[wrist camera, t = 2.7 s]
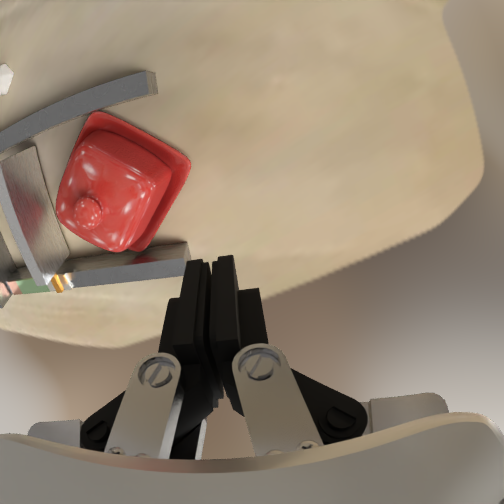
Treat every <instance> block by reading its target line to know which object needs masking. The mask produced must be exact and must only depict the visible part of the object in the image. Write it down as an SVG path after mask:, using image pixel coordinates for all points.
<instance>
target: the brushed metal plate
mask: <svg viewBox="0 0 504 504" xmlns="http://www.w3.org/2000/svg"><path fill="white" fill-rule="evenodd" d="M0 202H1V205H2V208H3V211H4V214H5V216H6V219H7V222H8V224H9V227H10V229H11V232H12V234H13V237H14V239H15V241H16V244H17V246H18V248H19V251H20V253H21V255H22V257H23V259H24V261H25V263H26V266H27V268H28V270H29V272H30V274H31V276H32V278H33V280H34V281H35V283H36V285H37V286H43V285H47V284H48V283H49V282H50V280H51V282H52V284H53V286H54V288H55V290H56V292H57V293H62V292H63V290H64V288H63V286H62V284H61V282H60V280H59V278H58V276H57V274H56V272H57V270H58V269H59V267H60V266H61V265H62V263H63V262H64V261H65V259H66V258H67V257H68V255H69V254H70V252H69V249H68V247H67V245H66V242H65V240H64V237H63V235H62V232H61V229H60V227H59V224H58V221H57V219H56V216H55V213H54V210H53V207H52V204H51V201H50V198H49V195H48V192H47V189H46V185H45V182H44V179H43V175H42V172H41V168H40V164H39V160H38V156H37V152H36V148H35V146H33V147H30V148H28V149H26V150H24V151H21V152H19V153H17V154H15V155H13V156H11V157H9V158H7V159H5V160H3V161H1V162H0Z"/></svg>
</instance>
